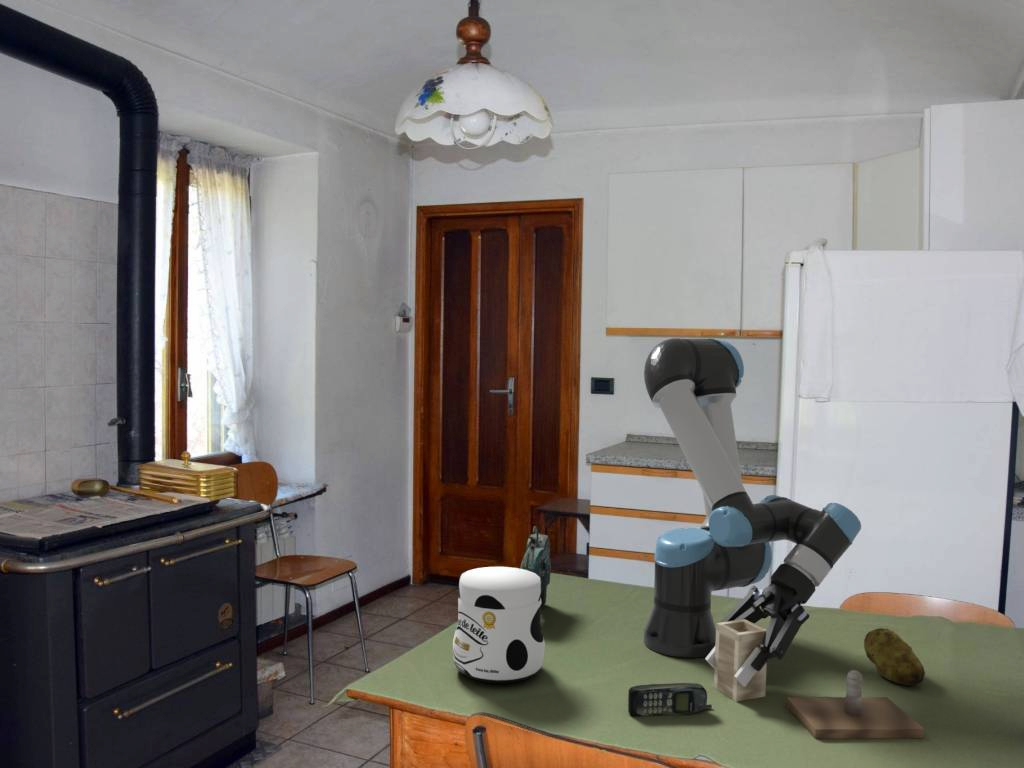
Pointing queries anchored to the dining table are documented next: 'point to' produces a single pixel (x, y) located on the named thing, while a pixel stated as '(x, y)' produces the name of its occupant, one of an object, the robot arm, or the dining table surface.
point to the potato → (893, 657)
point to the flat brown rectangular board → (853, 715)
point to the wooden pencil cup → (738, 659)
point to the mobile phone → (667, 699)
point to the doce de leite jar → (499, 625)
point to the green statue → (538, 560)
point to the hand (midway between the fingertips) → (724, 672)
